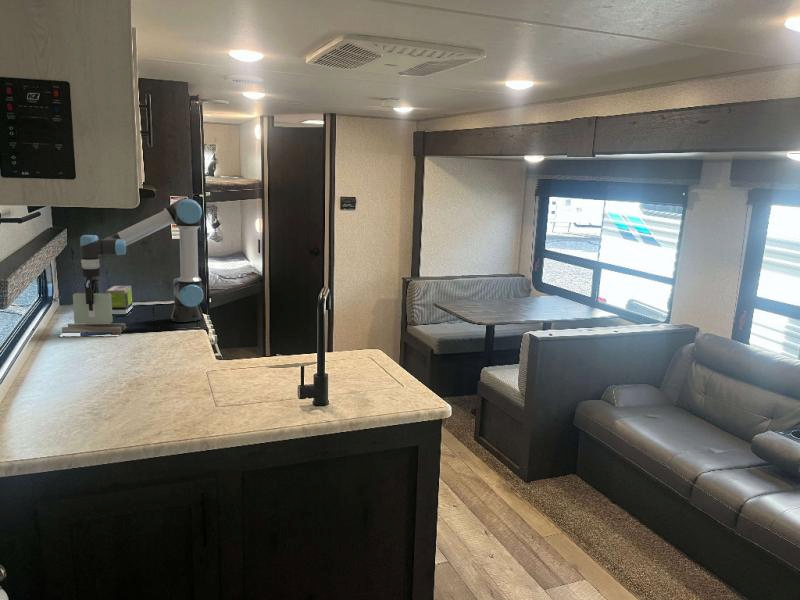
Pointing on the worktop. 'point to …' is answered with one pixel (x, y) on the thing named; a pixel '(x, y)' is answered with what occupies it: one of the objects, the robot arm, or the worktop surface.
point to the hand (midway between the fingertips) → (93, 315)
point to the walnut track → (95, 328)
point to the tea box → (121, 299)
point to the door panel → (101, 308)
